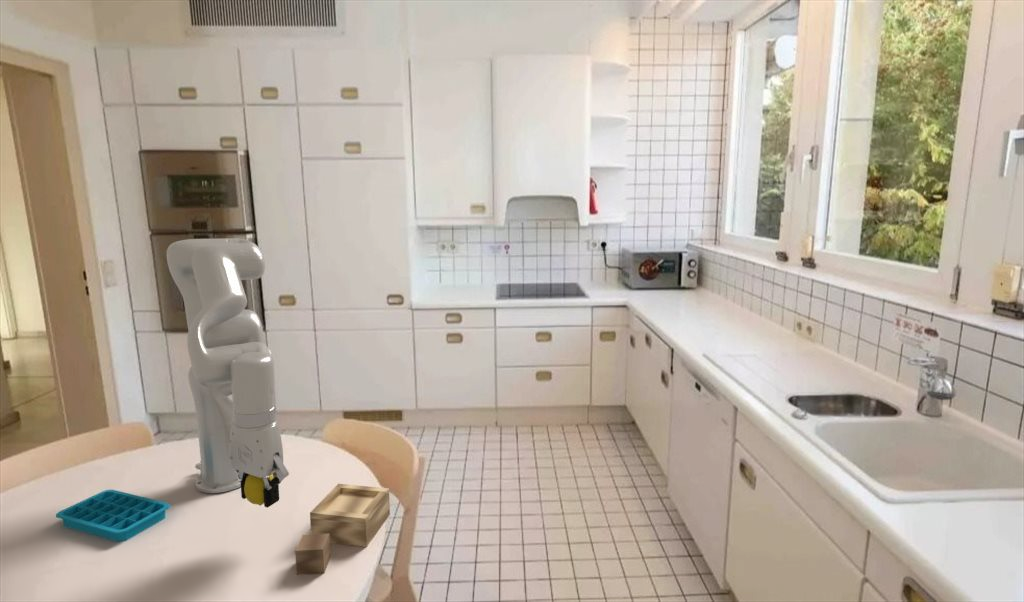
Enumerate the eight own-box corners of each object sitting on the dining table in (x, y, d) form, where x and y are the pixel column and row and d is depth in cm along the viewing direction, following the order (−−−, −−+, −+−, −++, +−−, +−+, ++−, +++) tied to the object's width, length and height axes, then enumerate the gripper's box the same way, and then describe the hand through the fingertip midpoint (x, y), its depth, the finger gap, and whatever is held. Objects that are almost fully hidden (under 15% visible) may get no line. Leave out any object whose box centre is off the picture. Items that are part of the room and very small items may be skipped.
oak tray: (311, 540, 110) (309, 512, 109) (339, 509, 122) (338, 483, 121) (366, 546, 108) (365, 518, 107) (389, 514, 120) (389, 488, 119)
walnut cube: (296, 575, 100) (295, 550, 99) (304, 558, 105) (302, 534, 104) (324, 573, 100) (323, 549, 100) (330, 556, 105) (329, 533, 105)
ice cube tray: (110, 500, 126) (108, 488, 125) (174, 516, 119) (173, 504, 119) (54, 527, 115) (52, 514, 114) (121, 547, 108) (120, 533, 108)
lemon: (264, 514, 106) (261, 477, 104) (239, 510, 107) (236, 473, 105) (281, 499, 111) (279, 463, 110) (257, 495, 112) (255, 460, 111)
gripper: (207, 413, 105) (214, 497, 109) (271, 432, 98) (276, 521, 102) (241, 400, 112) (246, 480, 116) (303, 418, 105) (306, 501, 109)
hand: (260, 498), depth 109 cm, fingers closed on lemon, 5 cm apart
